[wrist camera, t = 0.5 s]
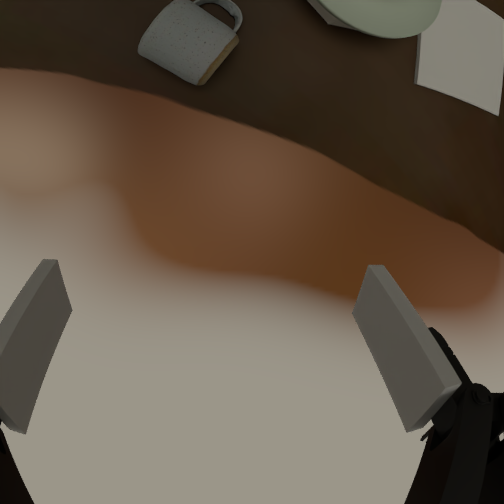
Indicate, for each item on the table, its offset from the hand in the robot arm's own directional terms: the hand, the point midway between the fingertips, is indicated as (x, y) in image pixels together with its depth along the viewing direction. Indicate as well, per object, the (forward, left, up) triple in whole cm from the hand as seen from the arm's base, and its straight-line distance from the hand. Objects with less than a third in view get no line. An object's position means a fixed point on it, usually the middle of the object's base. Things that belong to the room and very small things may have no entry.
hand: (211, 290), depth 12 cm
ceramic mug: (-14, -2, -27) cm, 31 cm away
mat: (-21, +34, -27) cm, 48 cm away
